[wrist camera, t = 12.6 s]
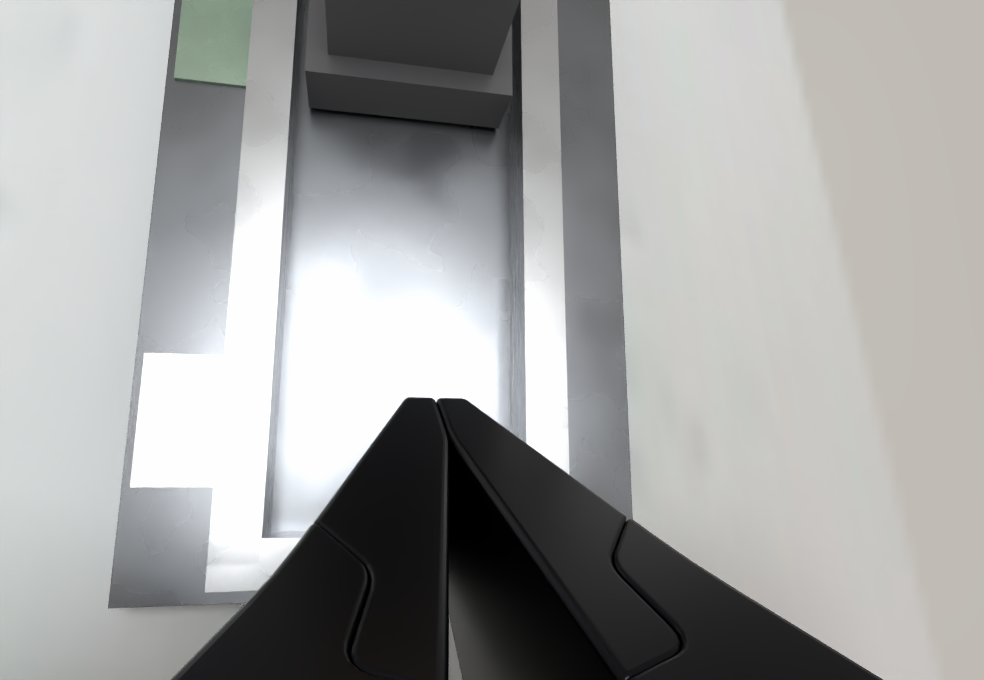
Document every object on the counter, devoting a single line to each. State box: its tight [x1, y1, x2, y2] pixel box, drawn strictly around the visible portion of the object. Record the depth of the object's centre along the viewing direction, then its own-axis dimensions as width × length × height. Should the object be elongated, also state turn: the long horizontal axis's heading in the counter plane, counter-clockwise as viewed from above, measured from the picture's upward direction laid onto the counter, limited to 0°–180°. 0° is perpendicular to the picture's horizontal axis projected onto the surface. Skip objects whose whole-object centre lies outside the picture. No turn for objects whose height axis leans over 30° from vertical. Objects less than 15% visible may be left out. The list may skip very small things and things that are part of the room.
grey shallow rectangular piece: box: [108, 0, 633, 608], centre depth 17 cm, size 18×12×3 cm, turn 0°
